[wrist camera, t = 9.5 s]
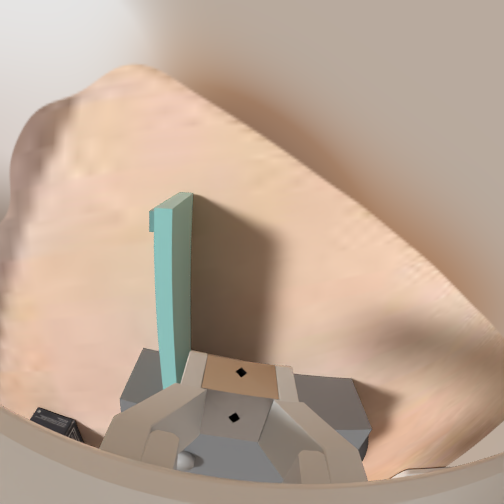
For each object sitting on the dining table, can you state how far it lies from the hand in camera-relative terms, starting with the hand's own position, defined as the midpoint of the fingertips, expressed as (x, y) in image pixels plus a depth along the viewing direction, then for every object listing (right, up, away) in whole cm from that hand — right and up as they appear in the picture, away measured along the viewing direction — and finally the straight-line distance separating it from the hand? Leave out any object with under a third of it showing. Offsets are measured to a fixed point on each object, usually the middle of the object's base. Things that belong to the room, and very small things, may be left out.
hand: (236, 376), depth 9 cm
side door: (-5, +1, +16) cm, 16 cm away
